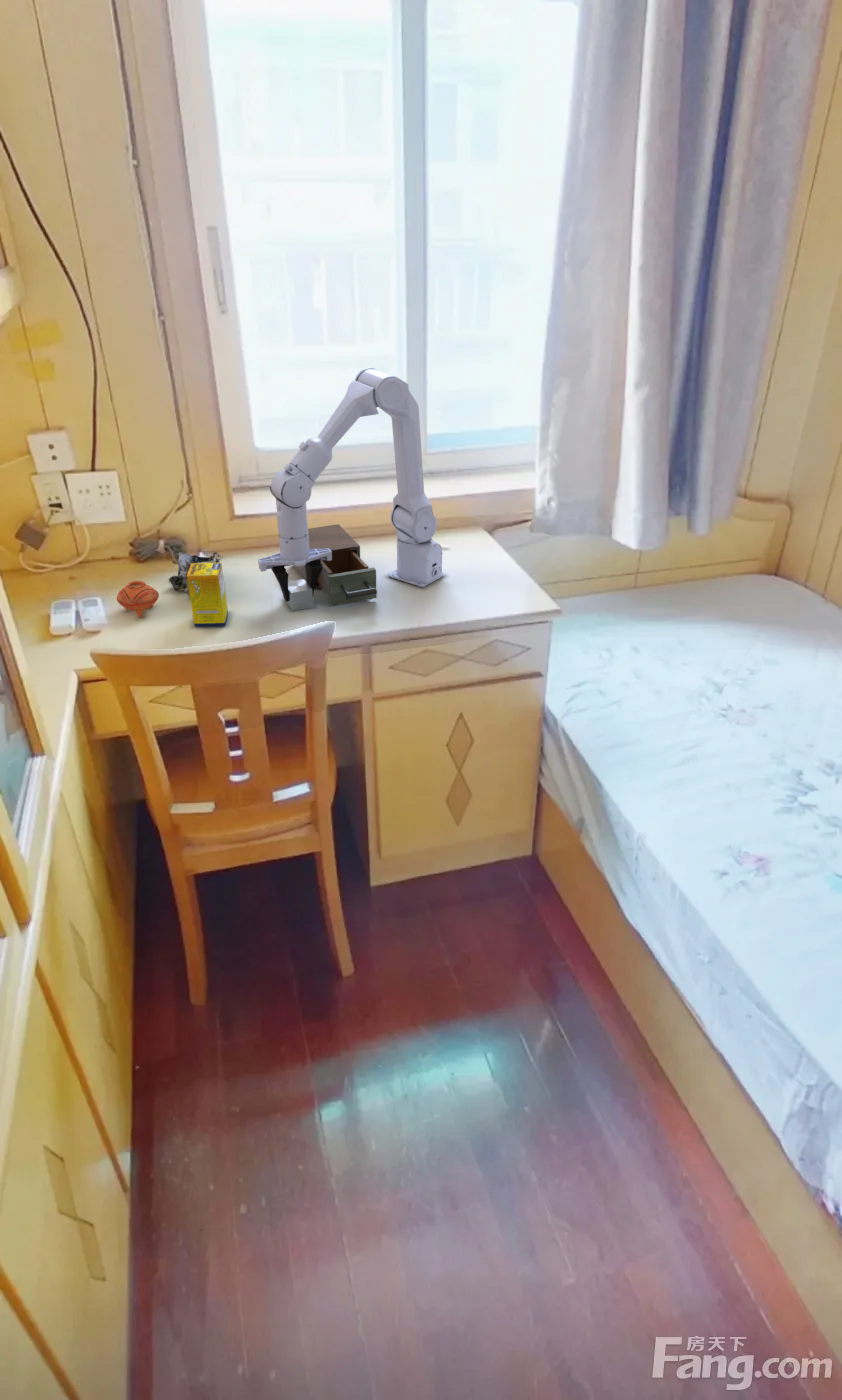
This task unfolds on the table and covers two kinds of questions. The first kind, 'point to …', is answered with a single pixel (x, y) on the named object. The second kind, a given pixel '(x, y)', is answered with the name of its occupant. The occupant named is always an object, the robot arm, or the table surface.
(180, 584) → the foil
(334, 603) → the drawer
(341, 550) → the cabinet
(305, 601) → the shiny metal block
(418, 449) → the robot arm
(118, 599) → the pot
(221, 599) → the supplement box
